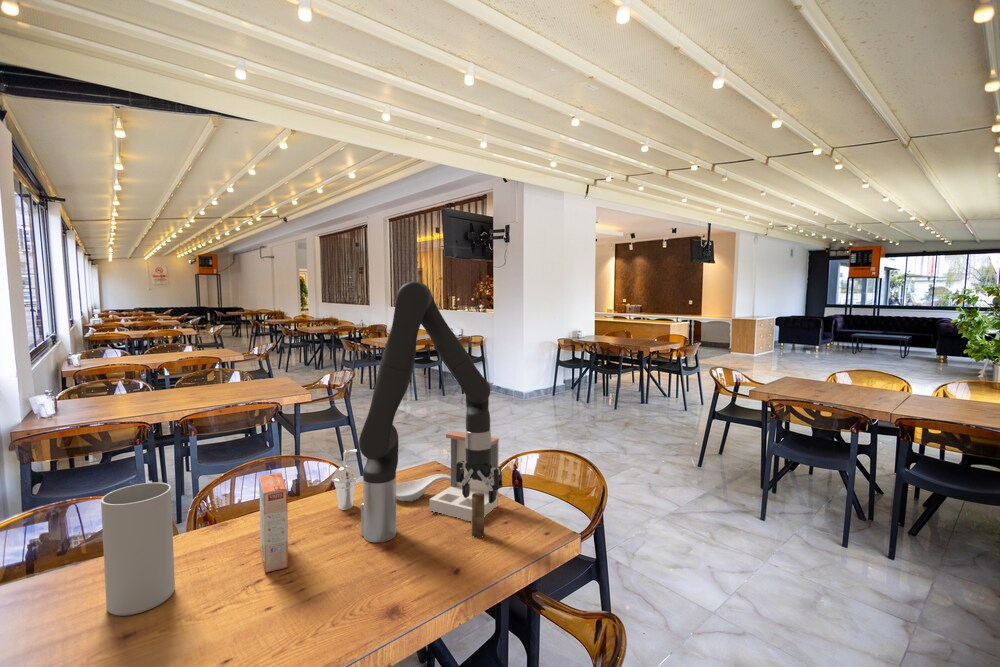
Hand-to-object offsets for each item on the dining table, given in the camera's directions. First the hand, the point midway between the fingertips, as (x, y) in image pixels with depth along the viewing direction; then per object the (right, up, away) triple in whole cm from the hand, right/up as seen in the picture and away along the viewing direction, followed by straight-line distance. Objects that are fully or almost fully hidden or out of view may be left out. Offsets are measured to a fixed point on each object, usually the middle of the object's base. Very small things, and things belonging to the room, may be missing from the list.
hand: (479, 499), depth 139 cm
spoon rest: (-20, -9, +29) cm, 36 cm away
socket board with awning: (-6, -9, +18) cm, 22 cm away
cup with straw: (-45, -9, +19) cm, 50 cm away
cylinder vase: (-76, -13, -30) cm, 83 cm away
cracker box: (-54, -12, -13) cm, 57 cm away
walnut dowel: (0, -11, +1) cm, 11 cm away
